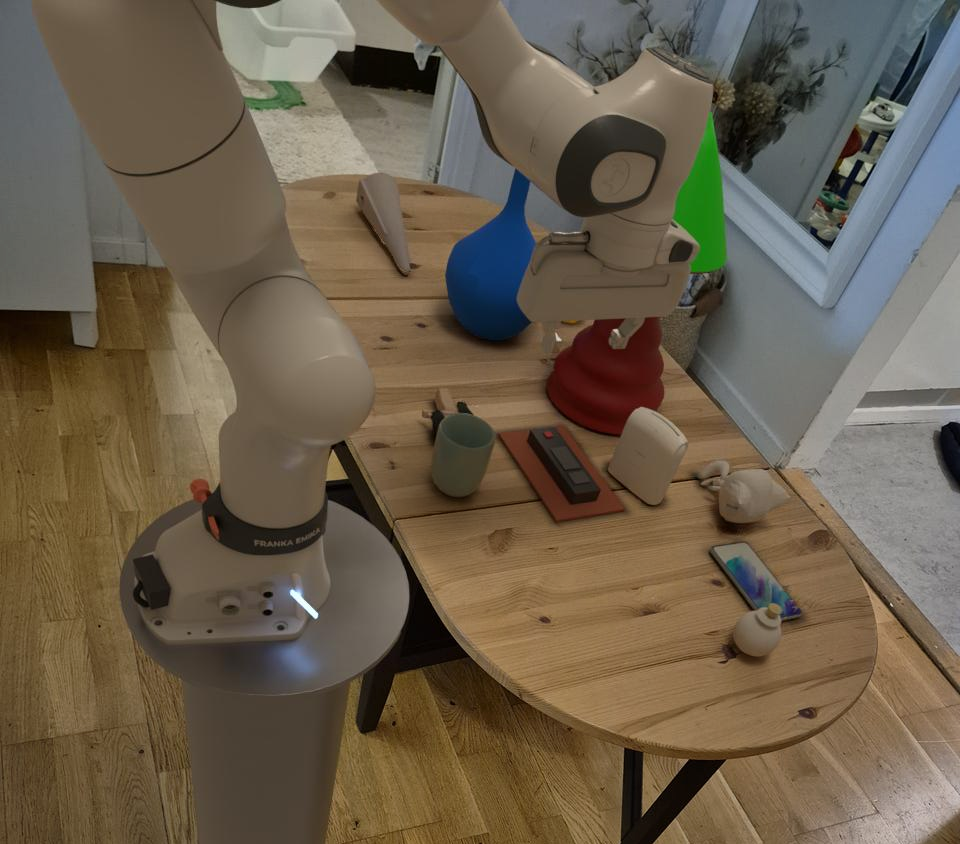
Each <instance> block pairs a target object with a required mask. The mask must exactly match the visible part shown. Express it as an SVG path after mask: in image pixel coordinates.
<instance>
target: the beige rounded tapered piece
mask: <svg viewBox="0 0 960 844" xmlns="http://www.w3.org/2000/svg"><path fill="white" fill-rule="evenodd" d="M730 470H731V466H730V463H729V462H727V461H726V460H714V461H712V462H710V463H708V464H707V465H706V466H705V467H704V468H703V469H702V470H701V471H700V472H699V473H698V474H696V475H695V478H697V479H699V480H703V481H701V482H700V485H701V486H707V485H709V484H711V483H712V485H711V486H709V487H708V488H709V490H710V491H712V492H713V491H714V492H718V510H719V515H720V516H721V518H724V520H725V521H726V522H729V523H735V524H748V523H754V522H755V523H756V522H759V521H761V520H762V519H764V518H765V517H766V516H767V515H768V513H770V512H772V511H775V510H776V509H778V508H780V507H782V506H783V505H784V504H785V503H786V502H788V501H789V500H790V499H791V496H790V495H789V494H788V492H787V491H786V489H784V487H783V486H782V485H780V484H779V483H778V482H776V481H775V480H773V478H772V477H771V475H770V474H769V472H768V471H767V470H765V469H763V468H749V469H742V470H735V471H732V472H731V473H730V474H729V472H730ZM716 474H720V477H718V478H716V479H715V478H714V477H713V478H710V477H712V476H715V475H716Z"/></svg>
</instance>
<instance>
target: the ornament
mask: <svg viewBox="0 0 960 844" xmlns="http://www.w3.org/2000/svg"><path fill="white" fill-rule="evenodd" d="M796 598H797V597H796V596H795V597H794V598H792V599H793V600H790V601H792V602H793V601H794V602H797V601H798V600H797V599H796ZM792 602H791V603H792ZM801 604H802V602H800V603H798V604H797V606H795V607H792V608H796V609H797V608H800V609H801V608H803V607H804V606H803V605H801ZM796 609H795V610H796ZM780 613H782V608H781V607H780V606H779V605H777V604H775V603H771V604H769V606H768V608H766V607H762V608H760V609H758V611H754V610H751V611H747V612H746V613H744V614H742V615H741V616H740V617H739V618H738V619H737V620H736V622H735V624H734V626H733V629H732V636H733V641H734V643H735V645H736V647H737V648H738V649H739V650H740V651H741V652H743V653H744V654H746V655H748V656H751V657H763V656H767V655H769V654H770V653H773V652H774V651H775V650H776V649H777V648H778V647H779V645H780V642H781V640H782V636H783V635H782V633H783V632H782V626H781V624H782V621H781V618H780V616H779V614H780ZM786 617H787V616H786ZM786 617H785V618H782V619H786Z"/></svg>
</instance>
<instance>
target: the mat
mask: <svg viewBox="0 0 960 844" xmlns="http://www.w3.org/2000/svg"><path fill="white" fill-rule="evenodd" d="M555 427H556V429H557V430H558V431H559V433H560V434H561V435H562V437H563V438H564V440H565V441H566V442H567V444H568V445H569V446H570V448H571V449H572V451H573V452H574V453H575V455H576V456H577V457H578V459H579V460H580V462H581V463H582V464H583V466H584V467H585V468H586V470H587V471H588V473H589V474H590V475H591V477H592V478H593V479H594V481H595V482H596V484H597V485H598V486H599V488H600V489H601V491H600V494H599V496H598V499H597V501H593V502H586V503H579V504H573V505H571V504H570V503H569V501H568V500H567V498H566V497H565V496H564V494H563V493H562V491H561V490H560V488H559V487H558V485H557V484H556V482H555V481H554V480H553V478H552V477H551V475H550V474H549V472H548V471H547V469H546V468H545V467H544V465H543V464H542V462H541V461H540V459H539V458H538V456H537V455H536V453H535V452H534V451H533V449H532V448H531V446H530V445H529V443H528V442H527V439H528V436H529V432H530V430H531V429H525V430H516V431H515V430H514V431H506V432H499V433H498V437H499V439H500V440H501V442H502V444H503V445H504V447H505V448H506V450H507V451H508V453H509V454H510V455H511V457H512V458H513V460H514V462H515V463H516V464H517V466H518V468H519V469H520V470H521V472H522V474H523V476H524V477H525V478H526V479H527V481H528V482H529V484H530V485H531V487H532V489H533V490H534V491H535V493H536V494H537V496H538V497H539V499H540V501H541V502H542V503H543V506H544V507H545V508H546V509H547V511H548V513H549V514H550V515H551V517H552V518H553V520H554V522H555V523H559V522H565V521H572V520H579V519H584V518H589V517H595V516H596V517H597V516H604V515H608V514H616V513H622V512H625V510H626V508H625V507H624V506H623V505H622V503H621V501H620V500H619V499H618V497H617V496H616V495H615V494H614V492H613V491H612V490H611V488H610V487H609V486H608V484H607V482H606V481H605V480H604V478H603V477H602V476H601V474H600V473H599V472H598V470H597V469H596V468H595V466H594V465H593V463H591V461H590V460H589V458H588V457H587V456H586V455H585V452H584V451H583V450H582V449H581V448H580V446H579V445H578V443H577V442H576V441H575V439H574V438H573V437H572V435H571V434H570V432H569V431H568V430H567V429H566V427H565V426H564V425H561V426H555Z"/></svg>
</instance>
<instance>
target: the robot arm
mask: <svg viewBox="0 0 960 844" xmlns="http://www.w3.org/2000/svg"><path fill="white" fill-rule="evenodd" d="M30 1H31V2H30V3H31V8H32V13H33V18H34V20H35V24H36V25H37V26H36V27H37V29H38V31H39V34H40V37H41V39H42V41H43V44H44V48H45V49H46V52H47V54H48V56H49V59H50V61H51V63H52V66H53V68H54V71H55V72H56V75H57V77H58V80H59V82H60V84H61V86H62V88H63V90H64V92H65V94H66V96H67V98H68V101H69V102H70V104H71V105H70V106H71V107H72V109H73V112H74V113H75V115H76V117H77V119H78V120H79V122H80V124H81V126H82V128H83V129H84V132H85V134H86V136H87V137H88V139H89V141H90V143H91V144H92V147H94V149H95V151H96V153H97V154H98V157H99V158H100V160H101V161H102V163H103V165H104V166H105V168H106V170H107V171H108V173H109V174H110V177H111V178H112V180H113V181H114V183H115V184H116V186H117V188H118V189H119V191H120V193H121V194H122V197H123V198H124V199H125V201H126V203H127V204H128V206H129V208H130V209H131V211H132V213H133V214H134V216H135V218H136V219H137V220H138V222H139V224H140V226H141V227H142V229H143V231H144V232H145V234H146V236H147V237H148V239H149V241H150V242H151V244H152V245H153V247H154V249H155V250H156V252H157V254H158V255H159V257H160V259H161V260H162V262H163V264H164V266H165V268H166V269H167V271H168V273H169V274H170V276H171V278H172V279H173V281H174V283H175V284H176V286H177V288H178V290H179V291H180V293H181V294H182V296H183V298H184V300H185V301H186V303H187V304H188V306H189V308H190V310H191V311H192V313H193V314H194V316H195V319H196V320H197V322H198V323H199V325H200V326H201V328H202V329H203V331H204V333H205V334H206V336H207V338H208V339H209V340H210V342H211V344H212V345H213V347H214V348H215V350H216V351H217V353H218V355H219V356H220V358H221V359H222V361H223V362H224V364H225V366H226V368H227V370H228V373H229V376H230V379H231V382H232V384H233V387H234V392H235V398H236V405H235V406H236V407H235V411H234V412H233V413H231V414H230V415H229V416H228V417H227V418H226V419H225V420H224V421H223V422H222V425H221V427H220V430H219V431H218V456H219V457H218V459H219V460H218V462H219V482H218V484H217V486H216V488H215V490H214V491H211V489H210V484H209V482H208V481H207V480H206V479H205V478H196V479H194V480H192V482H190V484H189V485H190V486H189V489H190V492H191V493H192V498H193V499H194V500H195V501H196V502H198V503H202V510H200V511H198V512H197V513H195V514H193V515H192V516H190V517H188V518H187V519H185V520H183V521H182V522H180V523H178V524H176V525H175V526H173V527H171V528H169V529H167V530H166V531H164V532H163V533H162V535H161V536H160V538H159V539H158V542H157V545H156V548H155V551H154V552H150V553H147V554H145V555H143V556H142V557H139V558H135V559H133V565H134V571H135V576H134V590H133V598H134V600H135V601H136V602H137V605H138V608H139V611H140V614H141V617H142V619H143V621H144V623H145V624H146V626H147V628H148V629H149V630H150V632H151V633H152V634H153V635H154V636H155V637H156V638H157V639H159V640H160V641H161V642H163V643H164V644H167V645H191V644H212V643H232V642H253V641H274V640H292V639H296V638H298V637H299V636H300V635H301V634H302V632H303V630H304V628H305V625H306V622H307V620H308V619H309V618H310V617H311V616H313V617H314V618H317V617H318V613H317V612H316V611H318V610H319V609H320V608H321V606H322V605H323V604H324V602H325V601H326V599H327V597H328V595H329V591H330V576H329V573H328V570H327V567H326V563H325V558H324V550H323V535H324V534H325V531H326V523H327V520H328V500H329V496H328V493H327V492H326V485H327V477H328V468H329V467H328V466H329V459H330V458H329V457H330V452H331V447H332V446H334V445H337V444H339V443H341V442H343V441H345V440H346V439H348V438H350V437H351V436H352V435H354V434H355V433H356V432H357V431H358V430H359V429H360V428H361V427H362V426H363V424H364V423H365V422H366V420H367V419H368V416H370V413H371V412H372V410H373V407H374V405H375V400H376V394H377V387H376V386H377V385H376V381H375V377H374V375H373V373H372V370H371V366H370V365H369V362H368V359H367V357H366V355H365V353H364V351H363V348H362V346H361V344H360V341H359V340H358V337H357V336H356V334H355V333H354V332H353V330H352V329H351V328H350V327H349V325H348V324H347V323H346V321H345V320H344V319H343V317H342V316H341V315H340V314H339V313H338V311H337V310H336V309H335V308H334V306H333V305H332V304H331V303H330V301H329V300H328V299H327V298H326V295H325V294H324V293H323V292H322V290H321V289H320V287H319V286H318V285H317V283H316V282H315V280H314V279H313V277H312V276H311V274H310V273H309V271H308V269H307V268H306V267H305V265H304V263H303V261H302V259H301V258H300V256H299V254H298V252H297V248H296V247H295V245H294V242H293V239H292V236H291V233H290V232H291V231H290V229H289V225H288V221H287V217H286V211H287V201H286V195H285V193H284V191H283V188H282V186H281V182H280V180H279V178H278V176H277V173H276V171H275V168H274V166H273V164H272V162H271V161H272V160H271V159H270V157H269V154H268V152H267V149H266V147H265V145H264V141H263V140H262V137H261V135H260V132H259V130H258V128H257V126H256V122H255V120H254V118H253V115H252V113H251V111H250V109H249V106H248V104H247V102H246V98H245V97H244V94H243V92H242V89H241V88H240V85H239V83H238V81H237V78H236V76H235V74H234V72H233V69H232V67H231V65H230V63H229V61H228V59H227V57H226V55H225V52H224V47H223V42H222V40H221V36H220V31H219V27H218V17H217V3H220V4H222V5H226V6H229V7H234V8H240V9H259V8H264V7H269V6H272V5H275V4H277V3H279V2H281V1H282V0H30ZM376 2H377V3H378V4H379V5H380V6H381V7H382V8H383V9H384V10H385V11H386V12H387V13H388V14H389V15H390V16H391V17H392V18H393V19H395V20H396V21H397V22H398V24H400V25H401V26H402V27H404V28H405V29H406V30H407V31H408V32H410V33H411V34H412V35H413V36H415V37H416V38H417V39H419V40H421V41H422V42H423V43H425V44H426V45H428V46H431V47H432V46H434V47H438V48H439V49H440V51H441V53H442V54H443V55H444V56H445V58H446V59H447V61H448V62H449V63H450V65H451V66H452V67H453V69H454V70H455V72H457V74H458V75H459V77H460V78H461V80H462V81H463V82H464V83H465V85H466V86H467V88H468V90H469V93H470V95H471V98H472V100H473V103H474V107H475V112H476V116H477V120H478V124H479V128H480V131H481V134H482V137H483V139H484V141H485V143H486V145H487V146H488V148H489V149H490V151H492V152H493V153H494V154H495V155H496V156H497V157H499V158H500V159H501V160H503V161H504V162H506V163H507V164H508V165H510V166H512V167H513V168H514V169H515V168H516V169H517V170H518V171H519V172H520V173H522V174H523V175H524V176H525V177H526V178H527V179H528V180H529V181H531V182H530V183H531V184H533V185H534V186H535V187H536V188H537V189H538V190H539V191H541V192H542V193H543V194H544V195H545V196H547V197H548V198H549V199H550V200H551V201H552V202H553V203H555V204H556V205H557V206H558V207H559V208H560V209H562V210H564V211H565V212H568V213H569V214H570V215H572V216H575V217H578V218H583V220H582V223H581V227H580V231H569V232H562V231H552V232H549V233H548V235H547V236H545V237H542V238H541V239H540V240H539V241H537V242H536V244H535V246H534V249H533V252H532V256H531V260H530V262H529V265H528V267H527V269H526V272H525V274H524V277H523V279H522V282H521V285H520V288H519V291H518V295H517V303H518V305H519V307H520V309H521V311H522V312H523V313H524V315H525V316H526V317H527V318H528V319H529V320H530V321H531V322H532V323H541V327H542V331H543V334H544V335H543V337H542V342H541V348H542V350H543V351H544V353H545V354H559V353H560V350H561V349H560V348H561V347H562V344H563V340H562V338H561V337H560V336H559V335H558V333H557V332H556V331H555V329H559V328H560V326H561V324H562V321H577V320H578V321H594V320H600V319H622V318H626V319H625V320H624V322H623V323H622V324H621V325H620V327H619V328H618V329H612V332H611V337H610V338H609V345H610V346H612V348H613V349H625V347H626V345H627V342H628V340H629V337H631V336H632V335H633V334H634V333H635V332H636V331H637V330H638V329H639V328H640V327H641V326H642V325H643V322H644V320H645V317H660V318H661V317H662V318H666V317H668V316H670V315H671V314H672V313H673V312H674V311H675V310H676V309H677V308H678V306H679V304H680V302H681V299H682V297H683V296H684V295H683V294H684V292H685V290H686V287H687V286H688V285H687V284H688V282H689V278H690V277H691V276H690V275H691V274H690V271H691V266H690V262H692V261H693V260H694V259H695V258H696V256H697V254H698V252H699V249H700V245H699V244H698V243H697V242H696V240H695V239H694V238H693V237H692V236H691V235H690V234H689V233H688V232H687V231H686V230H685V229H684V228H683V227H682V226H680V225H679V224H678V223H677V222H676V221H674V220H673V216H674V212H675V203H676V198H677V195H678V192H679V190H680V188H681V186H682V185H683V183H684V182H685V181H686V179H687V178H688V176H689V174H690V172H691V169H692V167H693V164H694V161H695V159H696V156H697V153H698V150H699V147H700V144H701V141H702V138H703V135H704V132H705V129H706V125H707V122H708V118H709V114H710V112H711V109H712V102H713V96H714V85H713V82H712V80H711V79H710V76H709V75H708V74H707V72H705V71H704V70H703V69H701V68H700V67H699V66H697V65H696V64H694V63H692V62H691V61H689V60H688V59H685V58H683V57H681V56H680V55H679V54H677V53H675V52H672V51H670V50H669V49H665V48H662V47H657V46H653V47H645V48H644V49H643V50H642V51H641V53H640V55H639V56H638V58H637V60H636V62H635V63H634V64H633V65H632V66H631V67H630V68H628V69H627V70H626V71H625V72H623V74H622V73H621V74H620V75H618V76H617V77H616V78H614V79H612V80H610V81H608V82H606V83H603V84H600V85H595V86H594V85H593V84H591V83H590V82H589V81H587V80H586V79H584V78H583V77H582V76H580V75H579V74H577V72H575V71H574V70H573V69H571V68H570V67H569V66H568V65H567V64H566V63H564V62H563V60H561V59H560V58H559V57H558V56H557V55H556V54H555V53H553V52H552V51H550V50H549V49H547V48H546V47H544V46H542V45H539V44H536V43H534V42H531V41H529V40H527V39H526V38H524V37H523V35H522V34H521V32H520V31H519V29H518V27H517V25H516V24H515V22H514V20H513V19H512V17H511V16H510V13H509V12H508V10H507V9H506V7H505V5H504V4H503V3H502V1H501V0H376ZM157 624H162V625H160V626H157ZM278 629H283V630H282V631H280V630H278Z"/></svg>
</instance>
